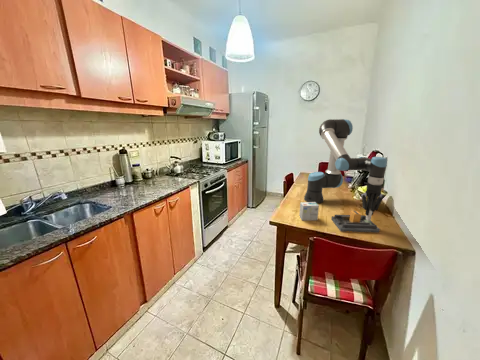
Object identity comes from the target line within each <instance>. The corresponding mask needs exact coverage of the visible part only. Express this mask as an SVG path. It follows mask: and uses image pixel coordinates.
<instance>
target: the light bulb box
mask: <svg viewBox="0 0 480 360" xmlns="http://www.w3.org/2000/svg"><path fill="white" fill-rule="evenodd" d="M299 204H300V205H299V215H298V216H300V217H299V219H300V220H301V221H318V219H319V209H320V208H319V207H320V205H319V203H316V202H307V201H304V202H303V201H302V202H300V203H299Z"/></svg>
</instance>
